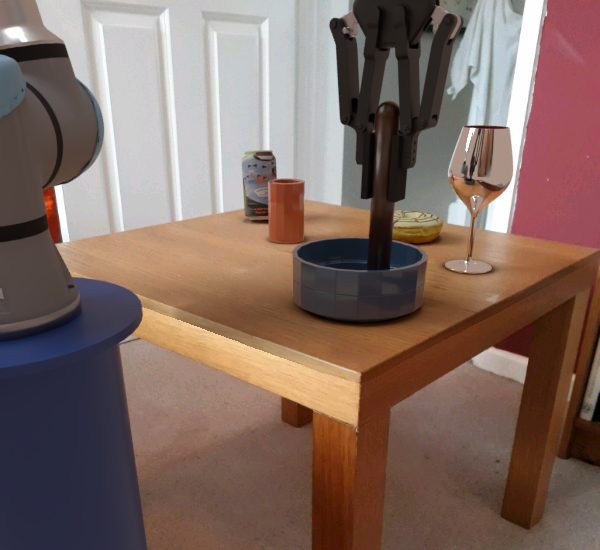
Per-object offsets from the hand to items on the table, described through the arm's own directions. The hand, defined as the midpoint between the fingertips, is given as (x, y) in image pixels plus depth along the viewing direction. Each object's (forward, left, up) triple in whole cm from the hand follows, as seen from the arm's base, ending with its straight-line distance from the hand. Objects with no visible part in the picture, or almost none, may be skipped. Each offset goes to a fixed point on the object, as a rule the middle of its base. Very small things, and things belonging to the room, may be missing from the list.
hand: (382, 198), depth 68 cm
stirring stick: (0, 0, -9) cm, 9 cm away
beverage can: (-38, +31, -12) cm, 51 cm away
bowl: (-2, -1, -12) cm, 12 cm away
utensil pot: (-26, +21, -12) cm, 36 cm away
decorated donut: (-10, +33, -12) cm, 37 cm away
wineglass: (+4, +21, -12) cm, 25 cm away
